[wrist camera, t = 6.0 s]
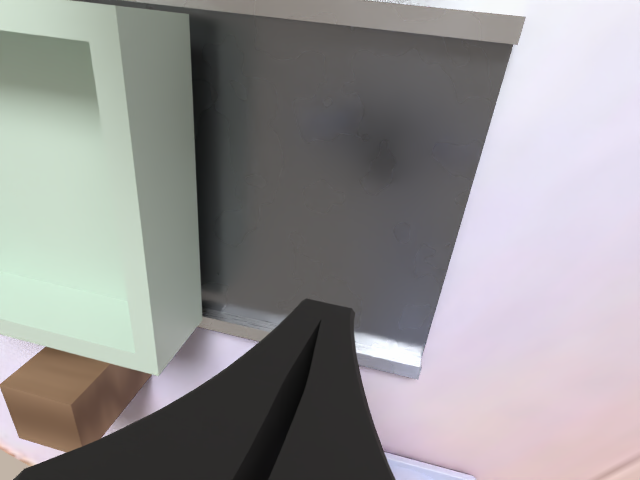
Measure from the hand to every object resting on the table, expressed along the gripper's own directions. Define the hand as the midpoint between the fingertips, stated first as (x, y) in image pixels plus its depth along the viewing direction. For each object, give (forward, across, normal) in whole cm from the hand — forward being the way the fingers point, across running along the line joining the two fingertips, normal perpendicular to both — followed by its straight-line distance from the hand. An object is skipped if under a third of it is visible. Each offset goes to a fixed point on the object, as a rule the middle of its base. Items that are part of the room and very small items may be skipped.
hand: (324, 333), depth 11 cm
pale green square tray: (+8, +14, 0) cm, 17 cm away
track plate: (+8, +10, 0) cm, 13 cm away
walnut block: (+8, +14, +12) cm, 20 cm away
